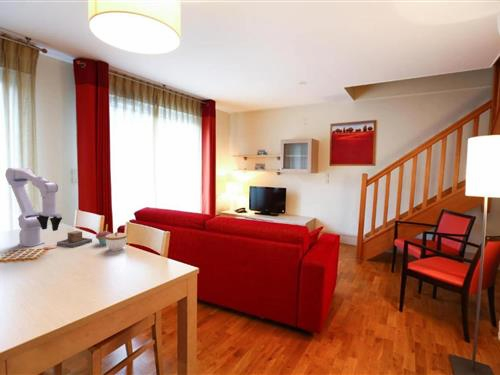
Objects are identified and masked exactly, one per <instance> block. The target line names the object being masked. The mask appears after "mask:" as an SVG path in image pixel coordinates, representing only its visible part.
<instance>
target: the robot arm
mask: <svg viewBox="0 0 500 375" xmlns="http://www.w3.org/2000/svg"><path fill="white" fill-rule="evenodd" d="M4 175H5V179H6V181H7V184H8V185H9V186H11V187H10V188H11V189H12V191H13V194H14V197H15V199H16V201H17V204H18V206H19V209H20V211H21V214H20V215H19V217H17V220H18V227H19V228H20V229H21V230H20V231H19V233H18V237H19V243H17V245H18V246H21V247H22V246H25V247H29V248H30V247H34V246H39V245H42V244H45V241H41V240H42V238H41V230H48V222H49V221H50V222H51V229H52V231H53V232H55V231H58V229H59V226H60V223H61V221H62V220H63V217H62V213H59V212H57V208H56V207H57V205H56V204H57V201H56V200H57V198H56V193H58V191H59V185H58V183H56V182H55V181H51V182H50V181H49V180H48V179H46V178H44V177H43V176H42V175H39V176H37V175H36V174H34V173H33V172H32V170H31V169H30V168H27V167H26V168H25V167H24V168H23V167H22V168H20V167H19V168H16V167H15V168H13V167H9V168H7V169H6V171H5V174H4ZM29 182H31V185H33V186H34V187H36V188H37V189H39V193H40V196H41V198H42V199H41V200H42V201H41V202H42V206H41V207H42V211H36V210H34V207H33V205H32V203H31V199H30V198H29V195H28V193H27V190H26V188H25V185H27V184H28V183H29ZM48 220H49V221H48Z"/></svg>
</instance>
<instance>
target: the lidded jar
mask: <svg viewBox="0 0 500 375" xmlns="http://www.w3.org/2000/svg"><path fill="white" fill-rule="evenodd" d="M111 233H112V232H111ZM105 241H106V244H105V246H106V247H107V248H108V250H110V251H111V252H117V251H122V250H123V248H124V247H125V246H126V245H127V241H128V234H127V233H124V232H118V231H115V232H113V233H112V234H108V235H106V236H105Z"/></svg>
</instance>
